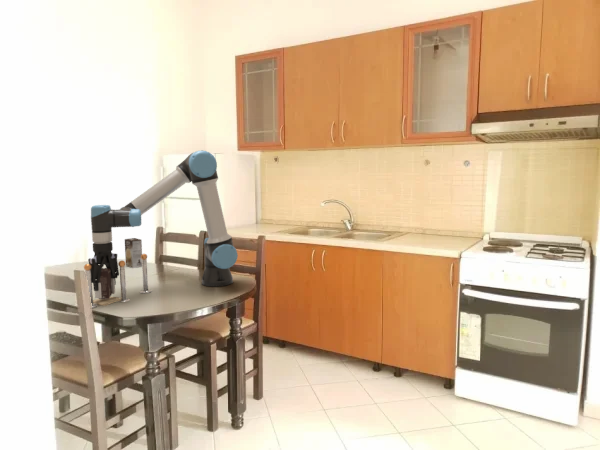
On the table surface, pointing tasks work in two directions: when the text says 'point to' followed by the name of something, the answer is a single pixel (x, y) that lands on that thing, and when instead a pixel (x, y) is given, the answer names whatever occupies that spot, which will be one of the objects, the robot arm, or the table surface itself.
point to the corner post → (122, 282)
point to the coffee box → (133, 252)
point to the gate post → (145, 275)
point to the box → (105, 283)
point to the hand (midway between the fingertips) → (105, 295)
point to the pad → (106, 301)
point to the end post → (89, 282)
